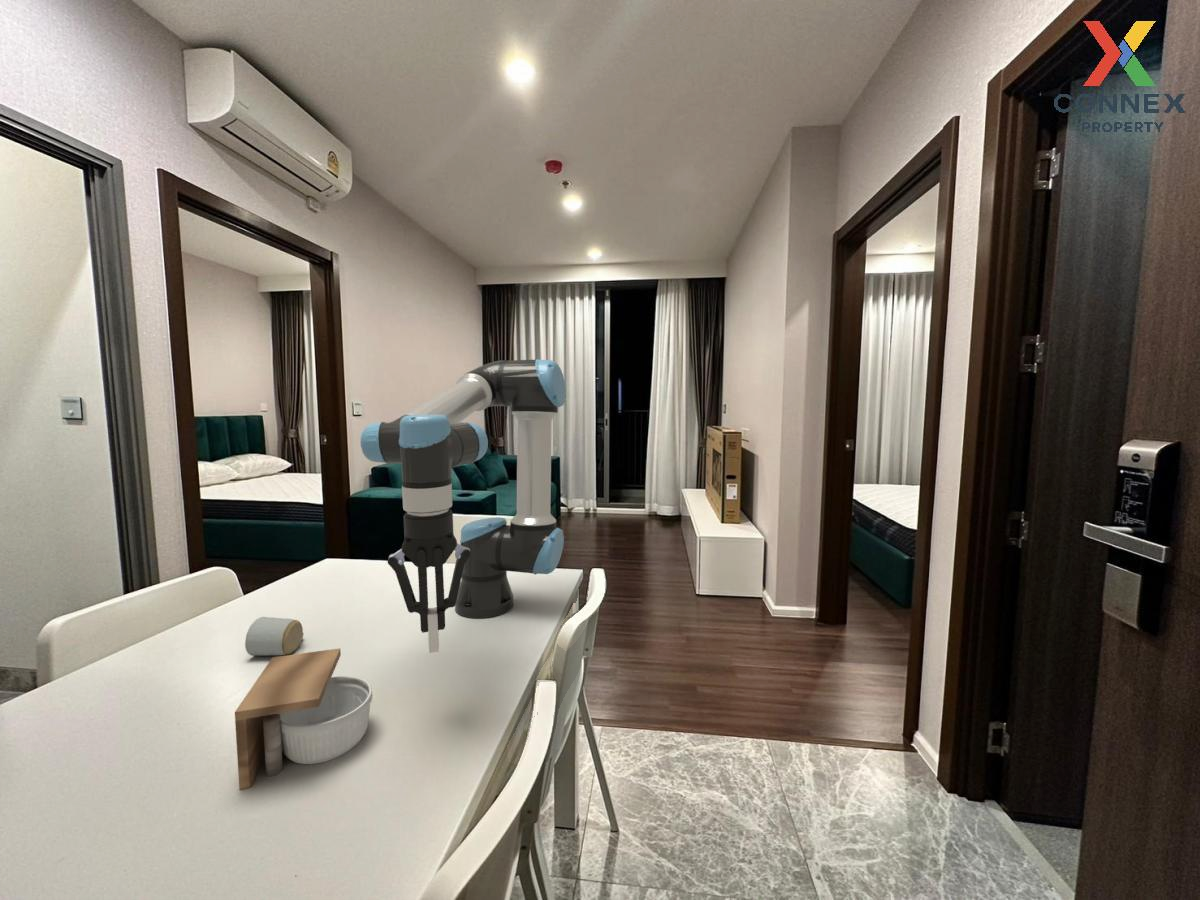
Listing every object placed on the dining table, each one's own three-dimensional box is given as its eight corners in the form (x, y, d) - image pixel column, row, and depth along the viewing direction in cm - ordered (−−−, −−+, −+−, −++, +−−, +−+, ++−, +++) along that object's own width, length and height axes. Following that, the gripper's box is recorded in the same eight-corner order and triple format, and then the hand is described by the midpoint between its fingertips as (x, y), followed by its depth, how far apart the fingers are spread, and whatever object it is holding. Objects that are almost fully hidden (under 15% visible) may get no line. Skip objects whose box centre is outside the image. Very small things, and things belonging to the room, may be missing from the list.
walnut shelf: (342, 710, 82) (340, 648, 82) (322, 772, 68) (318, 698, 67) (275, 721, 79) (272, 657, 78) (239, 789, 65) (234, 712, 64)
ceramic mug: (285, 661, 98) (284, 625, 98) (244, 662, 98) (243, 626, 97) (313, 638, 109) (312, 605, 108) (276, 638, 108) (275, 605, 108)
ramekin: (391, 723, 79) (390, 683, 79) (323, 782, 67) (321, 735, 66) (330, 707, 83) (328, 669, 83) (255, 759, 71) (252, 715, 70)
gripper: (468, 502, 83) (473, 631, 85) (387, 508, 78) (394, 643, 81) (471, 512, 75) (475, 653, 78) (381, 519, 71) (389, 667, 74)
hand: (434, 648), depth 80 cm, fingers closed
